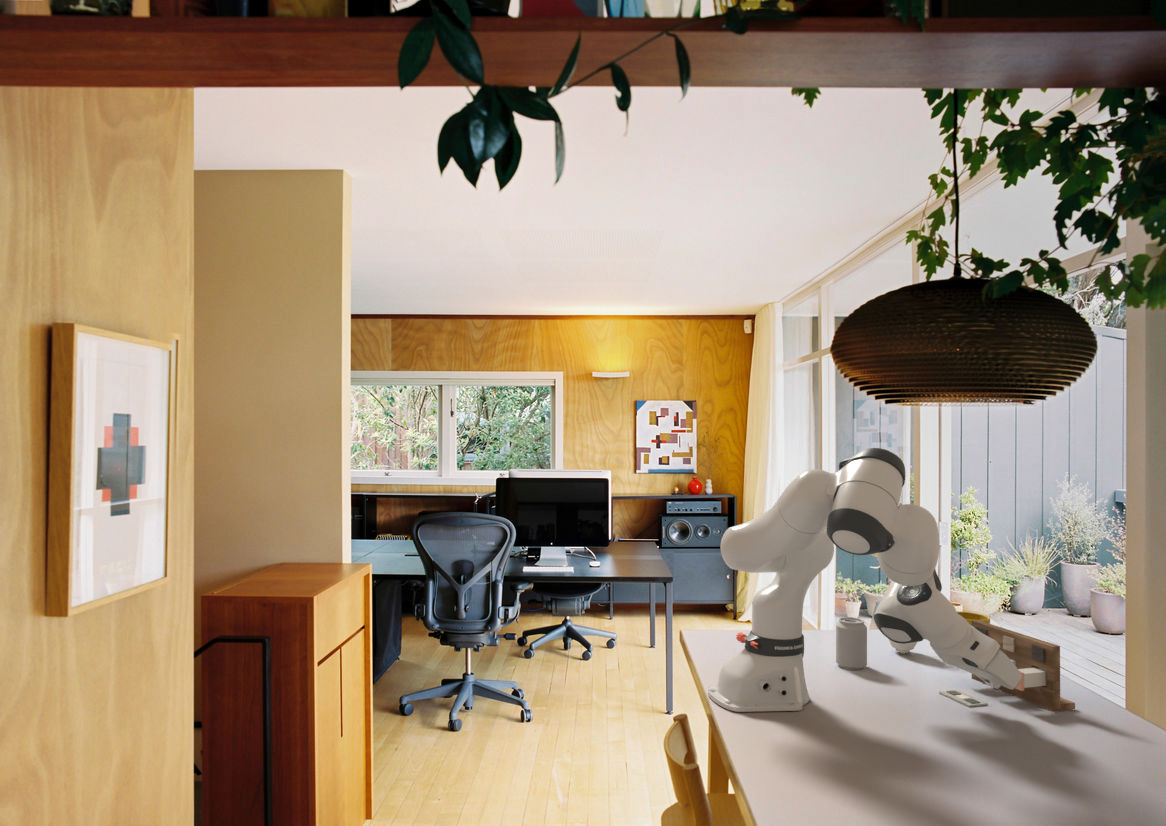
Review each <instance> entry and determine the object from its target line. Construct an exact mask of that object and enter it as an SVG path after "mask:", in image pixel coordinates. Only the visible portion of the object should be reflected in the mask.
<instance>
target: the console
mask: <svg viewBox="0 0 1166 826" xmlns="http://www.w3.org/2000/svg"><path fill="white" fill-rule="evenodd" d="M972 626H973V627H974V628H976V629H977V630H978V631H980V632H981V633H983V634H985V635H986V636H988V637H990V638H992V639H994V640H995V641H997V643H998V644H999V645H1000V648H999V650H1001V651H1002V652H1003V653H1004V654H1006V655H1007V657H1011V658H1014V659H1017V669H1025V668H1036V667H1039V668H1042V669H1045V670H1047V686H1038V687H1028V688H1024V691H1020V690H1018V689H1015V688H1014V689H1013V690H1011V689H1009V688H1006V687H1004V686H1000V687H999V688H998V689H997V688H995V689H996V690H999V691H1001V692H1003V693H1006V694H1008V695H1011V696H1014V697H1016V698H1018V699H1021V700H1023V701H1025V702H1027V703H1030V704H1032V705H1035V706H1037V707H1039V708H1043V709H1044V708H1045V709H1044V710H1047V709H1048V710H1047V711H1049V710H1050V712H1051V711H1052V712H1051V713H1057V711H1059V712H1065V711H1067V710H1068V711H1074V710H1073V709H1075V710H1076V702H1074V701H1071V700H1069V699H1067V698H1064V697H1061V646H1060V645H1058V644H1055V643H1051V642H1048V641H1045V640H1042V639H1039V638H1036V637H1032V636H1030V635H1027V634H1023V633H1020V632H1017V631H1013V630H1011V629H1007V628H1003V627H1000V626H998V625H995V624H991V623H990V624H989V623H985V622H982V621H979V620H975V621H972ZM971 680H975V681H977V682H979V683H982V684H984V685H987V684H986V683H985V682H984V681H983V680H982V679H980V678H979V677H977V676H976V675H974V674H972V673H971ZM990 687H991V688H993V687H992V686H990Z"/></svg>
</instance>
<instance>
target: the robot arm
mask: <svg viewBox="0 0 1166 826" xmlns="http://www.w3.org/2000/svg"><path fill="white" fill-rule="evenodd" d="M905 483H906V467H905V463H904V462H903V460H902V459H901V458H900V457H899V456H898V455H897V454H895V453H893V451H890V450H888V449H884V448H880V447H869V448H865V449H862V450H860V451H858V452H856V453H855V454H853V455H852V456H851V457H849V458H845V459H843V460H841V461H839V464H838V471H836V472H834V473H833V472H832V473H831V472H828V471H826V470H823V469H818V468H812V469H808V470H806V471H804V472H802V473H801V474H800V475H798V476H797V477H795V478H794V479H793V480H791V482H790V483H789V484H788V486H786V488H785V489H784V490H783V492H782V493H781V495H780V496H779V498H778V499H777V500H776V502H775V504H774V505H773V506H772V507H771V508H769V509H768V510H767V511H765V512H764V513H762V514H760V515H758V516H757V517H754V518H753V519H750V520H749V521H746V522H743V523H740V524H737V525H733V526H730V527H728V528H727V529H726V530H725V532H724V533H723V535H722V537H721V540H720V545H719V547H720V554H721V557H722V558H721V559H723V561H724V563H725V564H726V565H727V567H728V568H729V569H731V570H734V571H739V572H743V573H750V574H753V573H755V574H756V573H757V574H758V573H764V574H765V573H775V577H774V578H773V580H772V581H771V583H770V584H768V585H767V586H765V587H763V588H761V589H760V590H759V591H757V592H756V593H755V595H754V596H753V598H752V601H751V630H750V632H749V633H748V635H746V634H745V633H743V632H740V631H739V632H737V634H736V636H735V638H736V639H735V640H737V641H738V642H740V643H741V644H745V645H744V648H743V649H742V650H740V652H738V653H737V654H736V655H735V656H734V657H733V658H731V659H730V660H728V661H727V662H726V663H724V664H723V665H722V666H721V668H720V671H719V675H718V681H717V685H713V686H710V687H708V690H707V695H708V697H709V698H710V699H711V700H712V701H713V702H714V703H715V704H717V705H719V706H720V707H722V708H724V709H726V710H728V711H732V712H737V713H741V712H742V713H745V712H749V713H750V712H751V713H752V712H788V711H789V712H790V711H791V712H793V711H794V712H795V711H796V712H797V711H802V710H803V709H804V706H805V705H806V704H807V703H809V701H810V695H809V691H808V687H807V683H806V677H805V672H804V671H805V670H804V669H805V668H804V655H805V636H804V634H803V612H804V601H805V599H806V598H805V597H806V595H807V592H808V590H809V588H810V586H811V585H812V582H813V581H814V579H815V578H816V577H817V576H818V575H819V574H820V573H821V572H822V571H824V570H825V569H826V568H828V566H829V565H830V564H831V562H832V560H833V557H834V554H835V546H836V547H837V548H838V549H840V551H841V550H842V551H844V552H846V553H849V554H850V555H851V554H852V555H856V556H868V555H870V556H871V555H874V554H877V561H878V565H879V567H880V570H881V572H882V574H884V575H883V576H885V577H886V578H888V579H889V580H890V583H889V584H888V587H887V588H886V591H885V592H884V594H883V596H882V597H881V599H880V602H879V604H878V605H877V607H876V610H875V612H874V614H873V621H874V623H875V626H876V627H877V629H878V630H879V631H880V632H881V634H882V635H883V636H884V637H886V638H887V639H888V640H889V639H890V640H891V641H893V642H896V643H901V644H905V643H913V642H917V643H918V642H923V641H924V640H927V642H929V645H930V647H931V649H932V650H933V651H934V653H935V654H936V655H937V656H938V658H939V659H940V660H941V661H942V662H944V663H945V664H947V665H950V666H952V667H955V668H957V669H960V670H963V671H965V672H967V673H969V674H971V675H972V674H974V675H976V676H977V677H979V678H980V679H982V680H983V681H984V682H985V683H986V684H985V685H987V686H990V687H991V686H992V687H991V688H993V689H996V688H997V689H996V690H999V689H998V688H999V687H1000V686H1004V687H1006V688H1009V689H1011V690H1013V689H1014V688H1015V687H1016V686H1017V685H1018V684H1019V682H1020V681H1021V679H1022V674H1021V673H1020V671H1019V670H1018V669H1017V667H1016V666H1015V665H1014V664H1013V662H1012V661H1011V660H1010V659H1009V658H1008V657H1007V655H1006V654H1004V653H1003V652H1002V651H1001V650H999V648H1000V645H999V644H998V643H997V641H995V640H994V639H992V638H990V637H988V636H986V635H985V634H983V633H981V632H980V631H978V630H977V629H976V628H974V627H973V626H971V625H970V624H969V623H968V622H967V621H966V620H965V618H963V617H962V616H960V615H959V614H958V613H957V611H958V610H957V608H956V607H955V606H954V605H953V603H951V601H950V600H949V599H948V598H947V597H946V596H945V595H944V593H942V590H943V589H942V588H943V587H942V586H943V585H942V583H941V580H940V578H939V576H938V574H937V571H936V567H937V564H938V561H939V555H940V534H939V533H940V532H939V527H938V524H937V521H936V518H935V517H934V515H933V514H932V512H930V510H928V509H926V508H925V507H923V506H920V505H917V504H912V503H907V504H903V503H900V499H901V495H902V490H903V487H904V486H905Z"/></svg>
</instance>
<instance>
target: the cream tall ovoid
mask: <svg viewBox="0 0 1166 826" xmlns="http://www.w3.org/2000/svg"><path fill="white" fill-rule="evenodd" d="M888 641H889V643H890V645H891V647H892V648H894V649H895V651H896V652H898V653H899V652H900V653H899V654H902V653H903V654H904V655H905V653H906V654H907V653H910V652H911V651H913V650H914V649H915V647H916V645H917V643H918V642H913V643H905V644H901V643H896V642H893V641H891V640H890V639H888Z"/></svg>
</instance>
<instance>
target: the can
mask: <svg viewBox="0 0 1166 826" xmlns="http://www.w3.org/2000/svg"><path fill="white" fill-rule="evenodd" d="M835 663H836V664H837V665H838V666H839V667H840V668H842V669H845V670H851V671H859V670H863V669H864V668H865V667H867V665H868V626H867V625H866V624H865V620H864V619H861V618H858V617H853V616H851V617H850V616H849V617H848V616H846V617H843V616H842V617H840V618H838V622H837V623H836V624H835Z"/></svg>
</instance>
